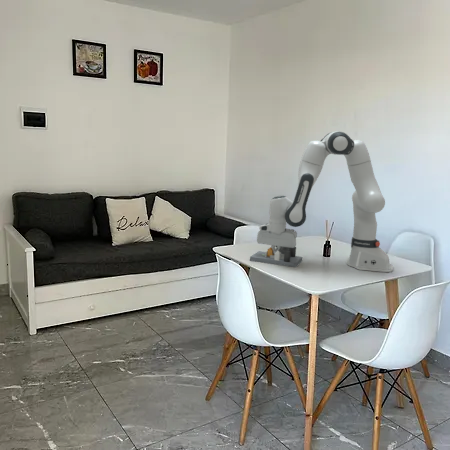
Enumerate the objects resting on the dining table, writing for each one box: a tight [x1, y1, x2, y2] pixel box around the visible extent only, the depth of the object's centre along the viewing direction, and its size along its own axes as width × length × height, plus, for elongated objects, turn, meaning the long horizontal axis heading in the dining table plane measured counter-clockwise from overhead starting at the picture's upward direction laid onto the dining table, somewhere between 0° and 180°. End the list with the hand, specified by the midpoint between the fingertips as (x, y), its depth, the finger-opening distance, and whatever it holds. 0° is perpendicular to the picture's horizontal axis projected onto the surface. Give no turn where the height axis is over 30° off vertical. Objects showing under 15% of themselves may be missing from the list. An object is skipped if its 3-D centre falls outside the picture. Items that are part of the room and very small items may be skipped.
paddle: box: [266, 247, 274, 256], centre depth 237 cm, size 2×4×4 cm, turn 157°
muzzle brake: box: [276, 246, 290, 254], centre depth 254 cm, size 10×28×10 cm, turn 174°
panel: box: [249, 246, 304, 268], centre depth 236 cm, size 24×14×7 cm, turn 67°
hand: (275, 253), depth 236 cm, fingers closed
